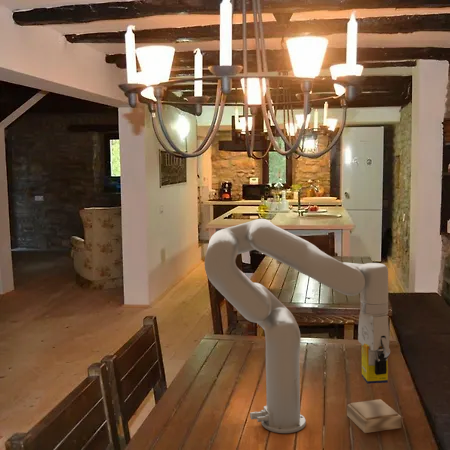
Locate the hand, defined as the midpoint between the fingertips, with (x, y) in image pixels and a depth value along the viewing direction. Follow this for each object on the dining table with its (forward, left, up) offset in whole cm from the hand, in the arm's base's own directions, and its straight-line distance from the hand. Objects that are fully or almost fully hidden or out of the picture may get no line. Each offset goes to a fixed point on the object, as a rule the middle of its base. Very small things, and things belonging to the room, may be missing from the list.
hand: (374, 368), depth 158 cm
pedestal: (0, 0, -16) cm, 16 cm away
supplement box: (0, 0, -3) cm, 3 cm away
